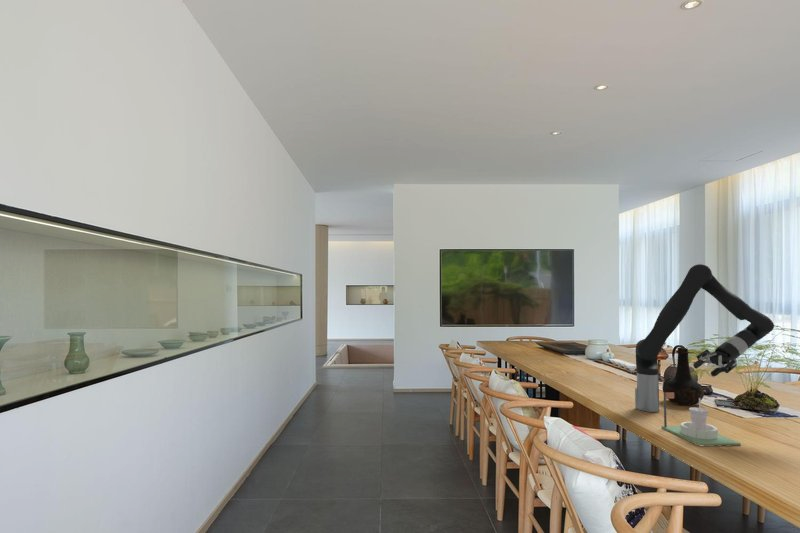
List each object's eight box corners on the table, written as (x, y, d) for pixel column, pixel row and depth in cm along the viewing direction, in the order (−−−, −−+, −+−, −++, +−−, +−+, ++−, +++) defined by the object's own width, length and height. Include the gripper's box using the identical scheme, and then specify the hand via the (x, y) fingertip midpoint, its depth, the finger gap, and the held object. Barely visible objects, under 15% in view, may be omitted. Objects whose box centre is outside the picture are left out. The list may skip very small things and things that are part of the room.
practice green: (661, 428, 192) (660, 392, 193) (698, 427, 193) (697, 391, 194) (699, 446, 170) (698, 405, 171) (740, 445, 171) (739, 405, 172)
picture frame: (758, 406, 230) (714, 401, 239) (758, 402, 230) (714, 397, 239) (762, 412, 218) (716, 407, 227) (762, 408, 218) (716, 403, 227)
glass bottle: (666, 397, 245) (665, 344, 247) (706, 403, 234) (705, 347, 235) (659, 403, 232) (657, 347, 233) (701, 410, 220) (699, 351, 221)
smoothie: (711, 437, 178) (710, 400, 179) (693, 436, 179) (692, 399, 180) (704, 432, 184) (703, 396, 185) (686, 431, 186) (685, 395, 186)
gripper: (714, 336, 202) (686, 358, 201) (745, 347, 189) (715, 370, 187) (719, 350, 204) (691, 371, 203) (750, 361, 191) (721, 384, 189)
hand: (703, 370), depth 195 cm, fingers open, 8 cm apart
